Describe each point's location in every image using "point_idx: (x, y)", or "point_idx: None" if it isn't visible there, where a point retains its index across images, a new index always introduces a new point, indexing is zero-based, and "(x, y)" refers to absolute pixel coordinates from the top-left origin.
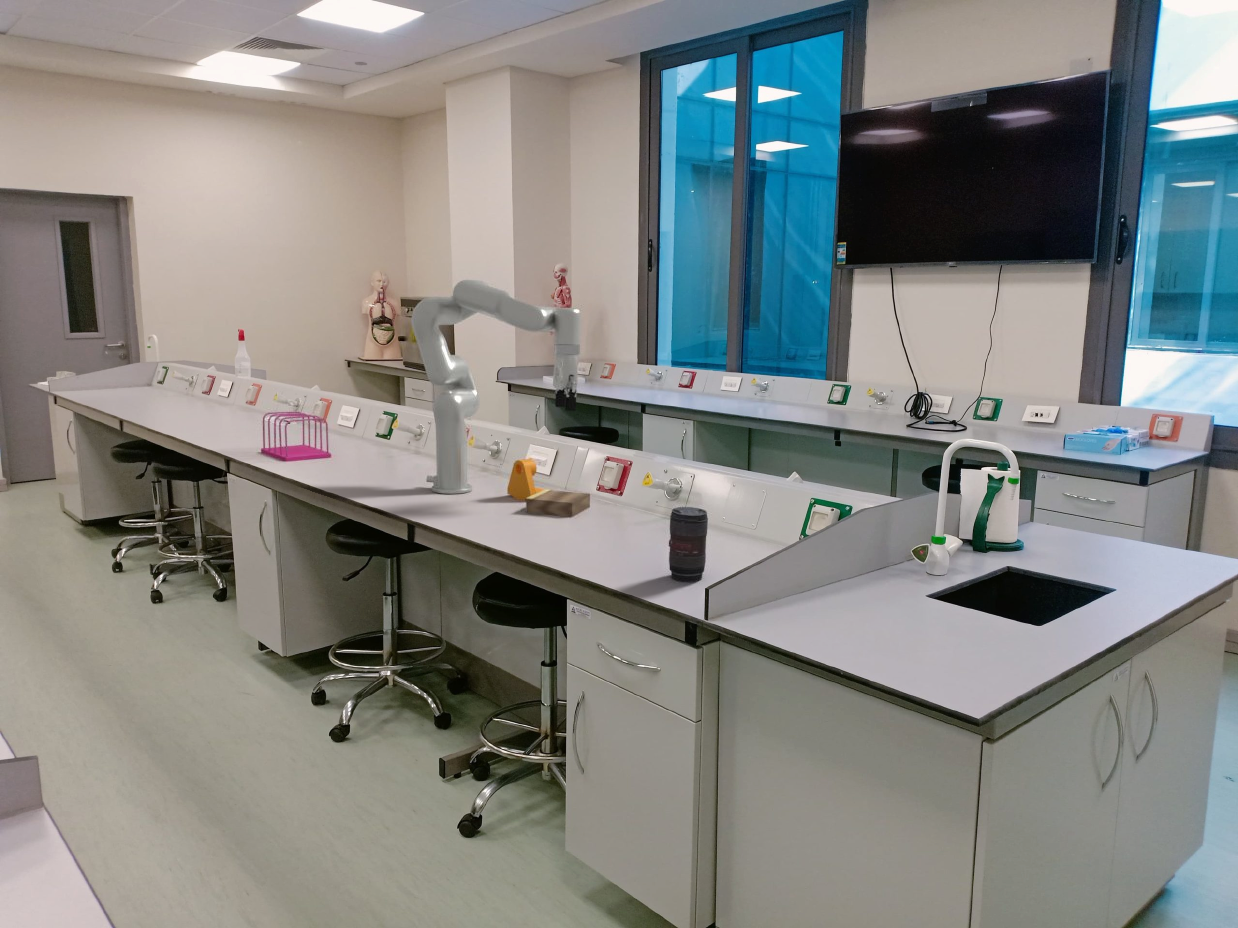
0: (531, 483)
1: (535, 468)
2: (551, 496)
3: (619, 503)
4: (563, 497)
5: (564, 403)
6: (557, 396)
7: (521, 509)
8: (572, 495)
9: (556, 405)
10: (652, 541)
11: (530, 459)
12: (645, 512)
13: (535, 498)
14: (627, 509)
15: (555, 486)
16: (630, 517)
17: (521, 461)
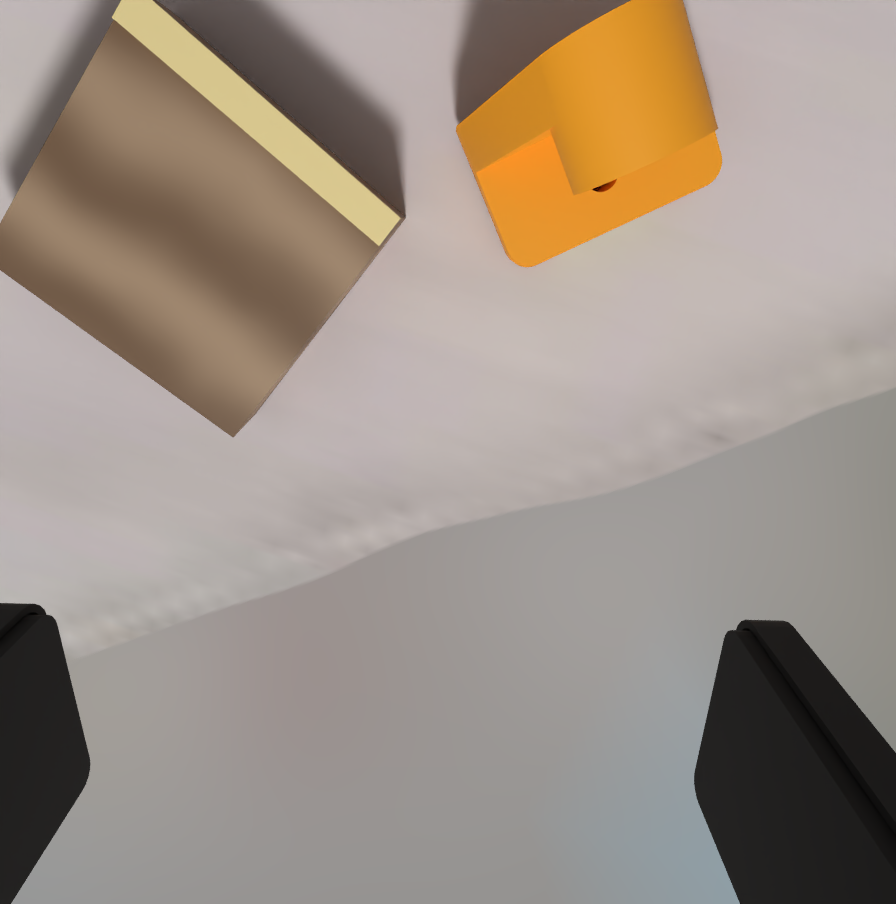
0: (492, 136)
1: (572, 184)
2: (185, 188)
3: (314, 570)
4: (146, 254)
5: (721, 824)
6: (867, 861)
7: (263, 8)
8: (200, 327)
9: (742, 641)
10: None
11: (641, 146)
12: (111, 606)
13: (133, 56)
14: (181, 559)
15: (817, 411)
16: (15, 516)
17: (586, 28)
